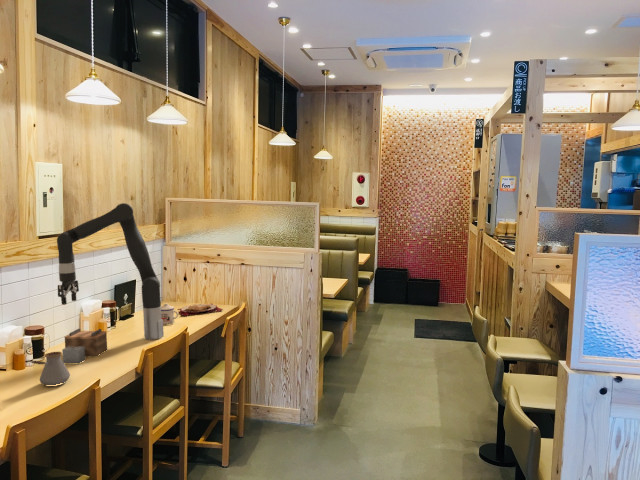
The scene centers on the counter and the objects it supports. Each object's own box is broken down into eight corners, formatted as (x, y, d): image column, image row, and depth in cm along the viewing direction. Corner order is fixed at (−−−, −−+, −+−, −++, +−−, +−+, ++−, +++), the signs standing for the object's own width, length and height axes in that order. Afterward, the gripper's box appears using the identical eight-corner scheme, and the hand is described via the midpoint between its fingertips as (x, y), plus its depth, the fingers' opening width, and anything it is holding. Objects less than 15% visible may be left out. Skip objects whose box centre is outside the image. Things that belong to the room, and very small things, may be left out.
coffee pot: (49, 378, 220) (47, 344, 219) (75, 378, 220) (73, 344, 218) (19, 398, 199) (16, 361, 197) (47, 399, 198) (45, 361, 197)
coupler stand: (107, 350, 258) (106, 328, 257) (97, 356, 248) (95, 334, 247) (77, 349, 259) (75, 328, 258) (65, 356, 249) (64, 333, 248)
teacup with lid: (156, 324, 306) (155, 305, 305) (163, 320, 315) (162, 301, 314) (175, 324, 304) (174, 305, 303) (181, 320, 313) (180, 302, 312)
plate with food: (223, 312, 335) (223, 307, 335) (182, 317, 323) (182, 311, 322) (212, 305, 357) (212, 300, 357) (173, 309, 344) (173, 304, 344)
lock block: (85, 360, 243) (84, 346, 242) (79, 364, 238) (78, 349, 237) (68, 360, 243) (67, 346, 243) (62, 364, 238) (61, 349, 238)
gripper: (65, 273, 253) (67, 305, 254) (82, 269, 267) (84, 299, 268) (51, 273, 253) (53, 305, 255) (68, 269, 267) (70, 299, 269)
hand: (69, 302), depth 262 cm, fingers open, 8 cm apart
